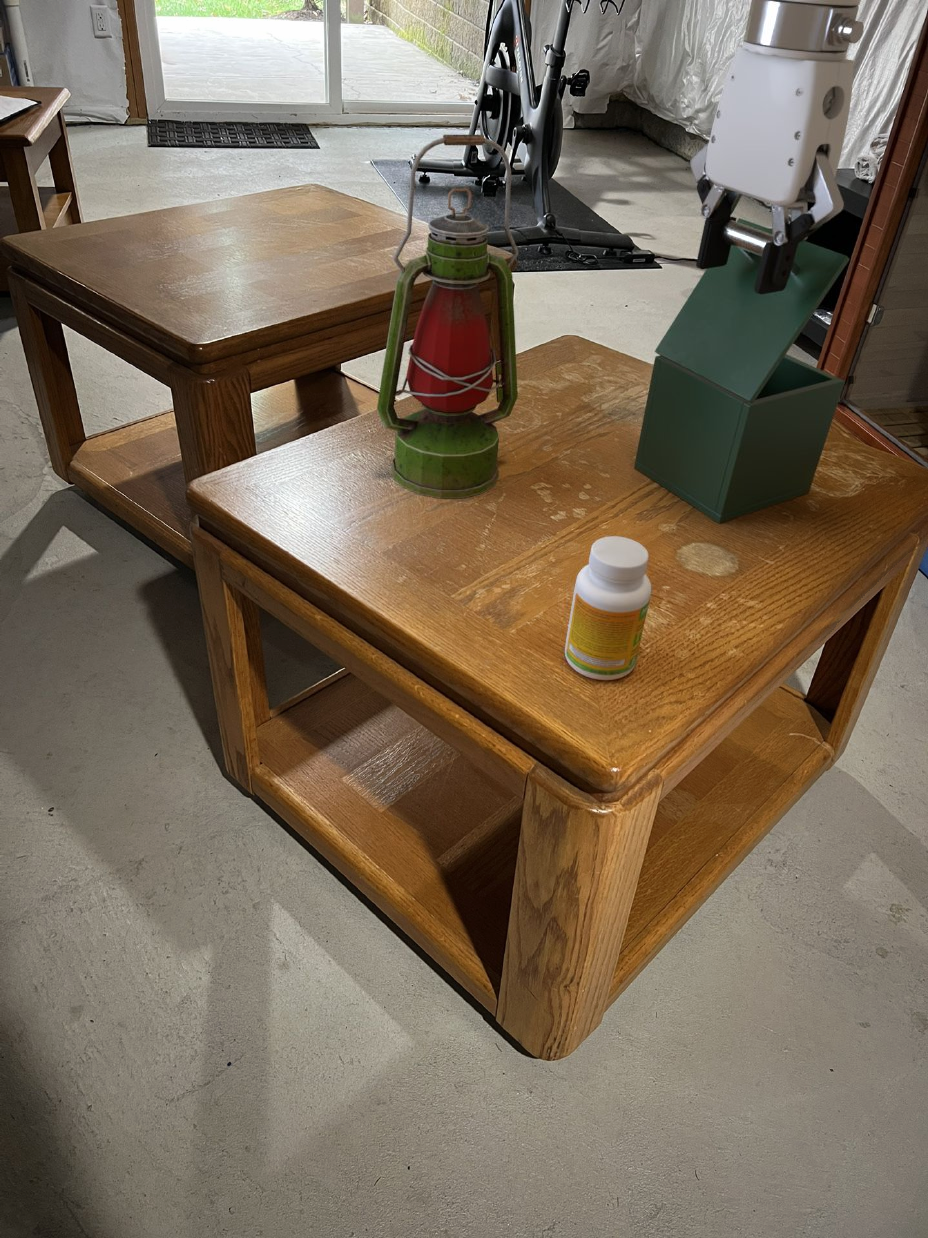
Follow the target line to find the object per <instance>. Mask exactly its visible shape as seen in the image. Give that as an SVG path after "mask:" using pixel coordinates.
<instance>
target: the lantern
mask: <svg viewBox="0 0 928 1238" xmlns="http://www.w3.org/2000/svg"><path fill="white" fill-rule="evenodd" d="M442 144H443V145H444V146H483V145H484V144H485V145H488V146H490V147H492V148H493V149H495V150H496V151H497V152H499V155H500V156H501V158H502V159H503V162H504V167H505V170H506V175H505V178H506V180H505V203H504V204H505V205H504V206H505V207H504V232H505V234H506V237H507V239H508V242H509V245H510V246H511V248H512V250H513V254H512V256H511V257H510V259H508V261H506V260H505V258H504V257H503V256H501V255H497V254H494V253H490V252H489V251H488V238H487V237H488V236H486V235H487V234H488V233H489V226H488V225H487V223H484V222H483V221H481V220H478V219H476V218H474V217H473V216H470V215H467V214H466V211H467V210H469V209H471V206H472V197H473V195H472V192H471V190H469V188H468V187H464V188H463V187H462V188H455V187H453V188H452V189H451V190H450V191H449V192H448V195H447V208H448V210H449V211H451V213H449V214H446V215H443V216H440V217H437V218H433V219H431V220H430V221H429V222H428V226H427V227H428V230H429V231H430V233H428V234H427V247H426V252H425V254H424V255H421V256H419V257H416V258H413V259H410V260H408V262H407V263H406V265H405V266H403V263H402V262H401V261H400V259H399V257H400V254H401V253H402V251H403V249H404V247H405V245H406V243H407V241H408V240H409V238H410V236H411V234H412V226H413V214H414V213H413V211H414V199H415V197H414V196H415V183H416V173H417V170H418V167H419V164H420V162H421V160H422V158H423V157H424V156H425V155H426V153H427V152H428V151H430V150H431V149H433V148H434V147H436V146H439V145H442ZM412 164H413V165H412V167H411V170H410V178H409V192H408V207H407V208H408V209H407V220H406V222H407V223H406V231H405V233H404V235H403V237H402V239H401V240H400V243H399V244H398V247H397V249H395V252H394V255H393V257H392V258H393V261H394V263H395V265H396V266H397V268H398V269H399V271H400V273H399V275H398V276H397V279H396V283H395V289H394V296H393V302H392V309H391V315H390V321H389V329H388V333H387V334H388V335H387V341H386V348H385V353H384V361H383V366H382V373H381V379H380V386H379V391H378V392H379V393H378V399H377V406H376V410H377V413H378V416H379V419H380V422H381V425H382V427H383V429H387V430H391V431H394V432H395V434H394V435H395V436H394V443H395V444H394V458H393V459H392V462H391V472H392V478H393V479H394V480H395V481H396V482H397V483H398V484H399V485H400V486H401V487H402V488H404V489H407V490H408V491H411V492H413V493H415V494H418V495H419V496H426V497H431V498H436V499H465V498H468V497H473V496H478V495H482V494H483V493H485V492H486V491H488V490H489V489H491V488H493V487H494V486H495V485H496V483H497V481H498V479H499V476H500V475H499V474H500V472H499V466H498V456H499V455H498V454H499V444H500V434H499V432H498V428H497V426H496V425H494V424H495V423H497V422H499V421H502V420H503V419H506V418H508V417H510V416H511V414H512V411H513V409H514V406H515V404H516V402H517V400H518V397H519V395H518V370H517V369H518V368H517V349H516V325H515V323H516V322H515V307H514V306H515V305H514V304H515V302H514V300H515V299H514V282H513V281H514V280H513V277H514V276H513V273H512V270H511V268H510V267H511V266H512V265H513V263H514V262H515V260H516V259H517V258H518V256H519V249H518V247H517V245H516V242H515V239H514V237H513V235H512V233H511V230H510V213H511V212H510V208H511V189H512V188H511V186H512V184H511V183H512V168H511V164H510V160H509V157H508V155H507V153H506V151H505V149H503V147H502V146H501V145H499V144H498V143H497V142H496V141H494V140H492V139H489V138H486V137H485V135H484V134H443V135H442V137H440V138H438V139H435V140H432V141H431V142H429V143H428V144H426V145H425V146H423V148H422V149H421V150H420V151H419V152H418V154H417V155H416V156H415V158H414V161H413V163H412ZM454 192H466V193H467V194H468V201H467V206H465V207H463V209H462V211H460V212H456V209H455V207H453V206H451V201H452V195H453V193H454ZM491 273H492V274H493V275H494V279H495V288H496V289H495V291H496V308H497V309H496V310H497V326H498V327H497V328H498V346H499V360H498V361H497V360H496V354H495V350H494V348H492V347H491V343H490V341H491V340H490V333H489V328H488V323H487V318H486V312H485V307H484V303H483V300H482V296H481V293H480V290H479V286H478V285H479V283H482V282H483V281H487V280H488V279H489V277H490V276H491ZM421 274H422V275H424V276H425V277H427V279H431V280H432V282H431V285H430V287H429V289H428V292H427V294H426V297H425V300H424V302H423V305H422V308H421V312H420V314H419V317H418V321H417V324H416V327H415V331H414V335H413V341H412V344H410V345H409V348H408V352H407V353H408V355H409V361H408V365H407V371H406V376H405V378H404V381H403V384H402V388H401V389H398V386H399V385H398V384H399V378H400V372H401V366H402V361H403V360H402V359H403V354H404V347H405V343H406V342H405V341H406V335H407V328H408V324H409V323H408V322H409V316H410V310H411V305H412V300H413V299H412V298H413V293H414V285H415V282H416V280H417V278H418V277H419V276H420V275H421ZM493 369H494V370H495V371H494V373H495V378H494V374H493ZM494 384H495V385H494ZM407 385H408V389H409V390H407V389H406V386H407ZM397 389H398V390H397ZM494 390H495V391H496V393H495V394H496V402H497V403H498V406H497V408H494V409H493V410H489V411H486V412H483V413H481V414H477V413H476V412H475V410H476V408H477V406H479V405H480V404H482V403H484V402H486V400H487V399H488V397H489V395H490V393H491V392H492V391H494ZM403 393H404V394H409V395H411V396H412V397H413V398H414V399H416V400H417V401H418V402H419V403H421V407H422V408H423V409H420V410H418V411H415V412H413V413H410V414H409V415H407V416H405V417H398V415H397V412H396V409H395V402H396V397H397V396H400V395H402V394H403Z"/></svg>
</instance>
